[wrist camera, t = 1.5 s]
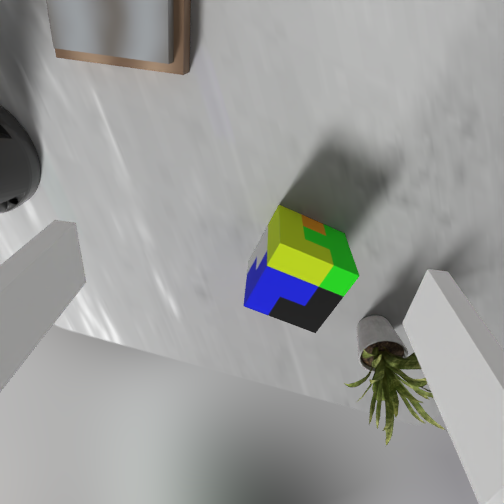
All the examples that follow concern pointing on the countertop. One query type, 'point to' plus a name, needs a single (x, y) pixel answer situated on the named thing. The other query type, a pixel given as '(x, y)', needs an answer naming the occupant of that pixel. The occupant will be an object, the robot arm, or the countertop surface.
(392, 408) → the house plant
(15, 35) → the countertop surface
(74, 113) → the countertop surface
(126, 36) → the two-layer plinth
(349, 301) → the countertop surface
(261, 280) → the puzzle toy
